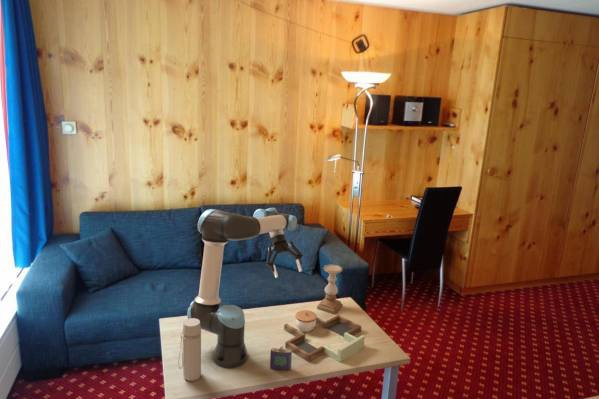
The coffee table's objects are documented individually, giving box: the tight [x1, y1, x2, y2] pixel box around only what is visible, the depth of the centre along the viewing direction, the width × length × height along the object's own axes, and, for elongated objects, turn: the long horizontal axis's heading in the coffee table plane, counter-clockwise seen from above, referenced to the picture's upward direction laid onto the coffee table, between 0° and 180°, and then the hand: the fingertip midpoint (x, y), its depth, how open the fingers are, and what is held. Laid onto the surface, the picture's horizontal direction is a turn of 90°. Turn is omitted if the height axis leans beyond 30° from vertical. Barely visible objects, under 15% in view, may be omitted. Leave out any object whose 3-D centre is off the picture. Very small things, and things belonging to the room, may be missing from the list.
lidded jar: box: [294, 309, 318, 333], centre depth 225 cm, size 11×11×9 cm
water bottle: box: [177, 318, 202, 382], centre depth 182 cm, size 9×8×25 cm
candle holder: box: [316, 264, 343, 315], centre depth 247 cm, size 11×11×24 cm
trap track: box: [283, 314, 366, 363], centre depth 218 cm, size 36×39×6 cm
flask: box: [269, 345, 293, 372], centre depth 193 cm, size 9×3×11 cm, turn 87°
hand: (288, 274), depth 232 cm, fingers open, 13 cm apart
